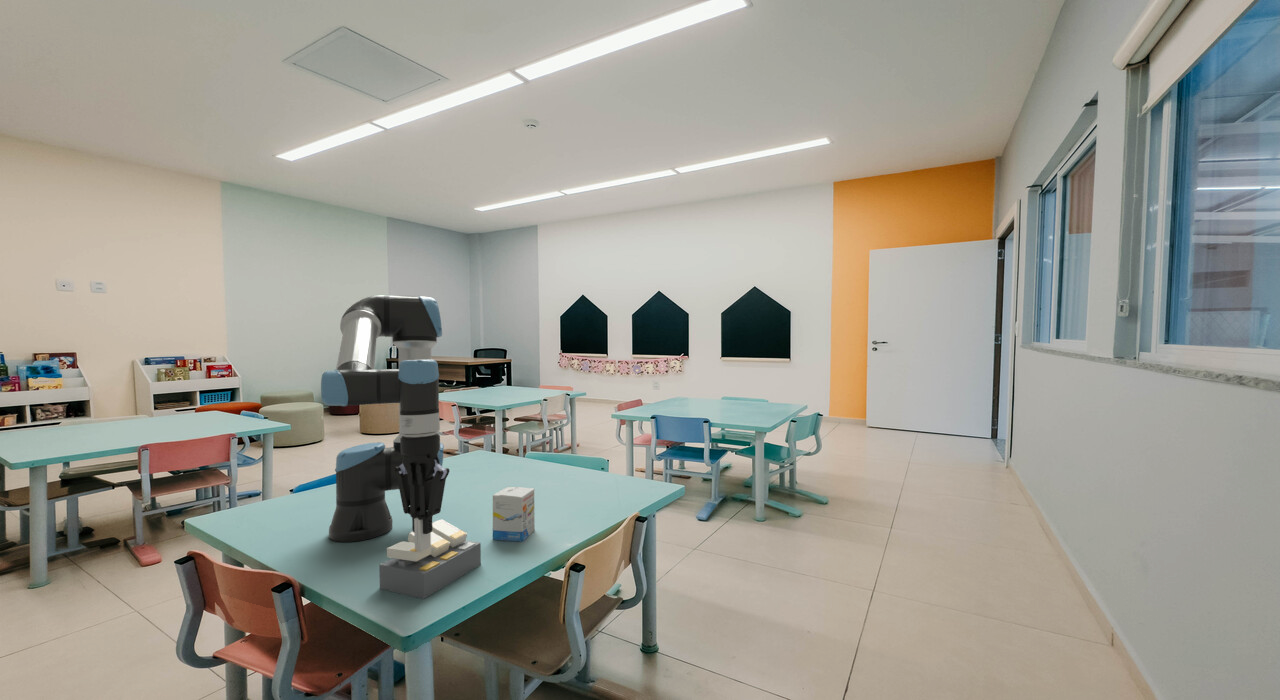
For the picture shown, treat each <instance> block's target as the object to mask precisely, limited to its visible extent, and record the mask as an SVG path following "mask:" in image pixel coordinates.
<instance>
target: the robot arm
mask: <svg viewBox="0 0 1280 700" xmlns="http://www.w3.org/2000/svg"><path fill="white" fill-rule="evenodd" d="M439 307H440V306H439V304H438V302H437V300H436V299H435V298H433V297H430V296H421V295H384V294H380V295H379V294H378V295H377V294H376V295H371V296H367V297H365V298H362V299H360V300H358V301H356V302H355V303H354V304H351V306H350V307H349V308H347V310H345V312H344V313H343V315H342V317H341V320H340V326H339V327H340V332H341V334H342V338H341V343H340V347H339V353H338V359H337V361H336V362H337V363H336V369H332V370H327V371H324V372H323V373H322V374H321V378H320V379H321V380H320V395H321V402H322V403H323V404H324V405H325V406H328V407H329V406H332V407H333V406H335V407H336V406H337V407H338V406H339V407H340V406H341V407H347V406H363V405H378V404H379V405H381V404H382V405H383V404H385V405H386V404H398V420H399V421H398V422H399V423H398V428H399V430H398V433H399V434H398V435H397V436H396V437H395V438H394V439H393V443H392V444H393V446H391V447H386V445H385V443H384V442H381V441H380V442H379V441H378V442H368V443H363V444H357V445H354V446H351V447H348V448H345V449H343V450H341V451H340V452H339V453H337V456H336V458H335V459H336V460H335V461H336V463H335V469H334V472H335V479H336V480H335V483H336V484H335V485H336V486H335V491H336V492H335V493H336V494H335V496H336V497H335V498H336V499H335V500H336V501H335V503H336V506H335V510H334V514H333V517H332V520H331V523H330V525H329V527H328V539H330V540H331V541H334V542H341V543H350V542H359V541H360V542H361V541H366V540H369V539H374V538H378V537H380V536H382V535H385V534H387V533H388V532H390V531H391V530H392V529H393V517H392V516H391V512H390V509H389V507H388V503H387V501H386V491H395V490H399V494H400V499H401V505H402V508H403V514H406V515H410V517H411V521H412V525H411V526H412V532H414V535H415V550H417V551H423V550H425V549H427V548H429V547H431V532H432V523H433V516H435V515H438V514H440V513H441V510H442V504H443V499H444V492H445V487H446V482H447V481H446V480H447V477H449V476H448V475H449V474H450V469H449V467H445V468H444V467H443V463H444V451H445V449H444V448H445V447H444V443H442V442H441V436H440V435H441V434H439V433H438V432H439V431H441V426H440V425H441V424H440V422H441V421H440V408H439V407H440V406H439V405H440V396H439V395H440V394H439V393H440V389H439V388H440V387H439V384H440V383H439V380H440V379H439V377H440V373H439V366H438V365H439V364H438V362H437V361H436V359H432V348H434V346H436V345H437V341H438V339H437V338H440V337H442V335H443V330H442V329H443V328H442V319H441V313H440V309H439ZM379 337H385V338H387V337H388V338H392V344H393V345H394V346H395V347H396V348H397V349H398V368H391V369H390V368H388V369H386V368H385V369H381V368H380V369H379V368H378V369H375V362H376V351H377V350H376V349H377V339H378V338H379Z"/></svg>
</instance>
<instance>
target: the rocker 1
mask: <svg viewBox="0 0 1280 700" xmlns="http://www.w3.org/2000/svg"><path fill="white" fill-rule="evenodd" d="M430 554H431V547H429V548H427V549H425V550H423V551H417V550H415V543H412V542H409V541H399V542H397V543H395V544H393V545H391V546H389V547H386V557H387V558H388V559H389V558H390V559H392V558H396V559H402V560H409V561H418V560H420V559H422V558H424V557H426V556H428V555H430Z"/></svg>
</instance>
